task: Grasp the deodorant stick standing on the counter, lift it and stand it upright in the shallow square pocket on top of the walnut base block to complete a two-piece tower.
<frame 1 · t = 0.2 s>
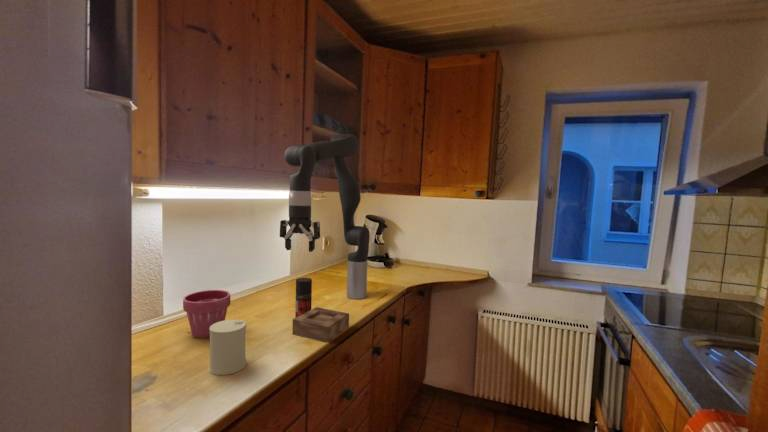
hand: (299, 250, 118), 28 cm above the countertop, fingers open, 8 cm apart
plinth: (321, 330, 119), on the countertop
deodorant: (303, 318, 131), on the countertop
plant pot: (207, 333, 115), on the countertop
can: (228, 366, 93), on the countertop
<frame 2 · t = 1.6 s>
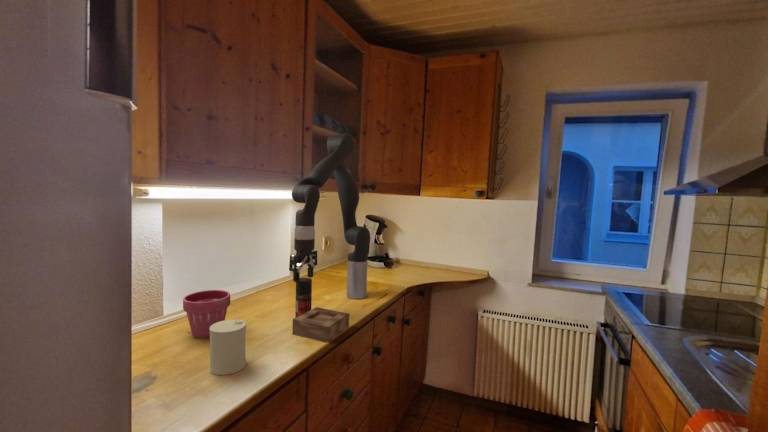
hand: (303, 279, 130), 15 cm above the countertop, fingers open, 8 cm apart
nothing on the countertop moved.
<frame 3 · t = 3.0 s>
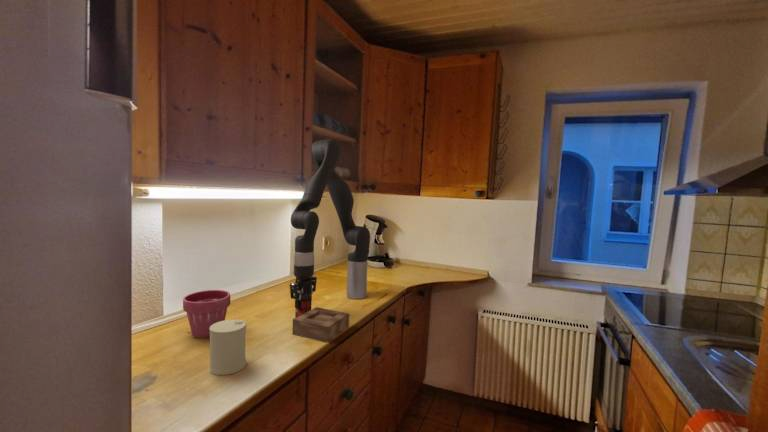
hand: (303, 306, 130), 5 cm above the countertop, fingers closed on deodorant, 6 cm apart
deodorant: (303, 318, 131), on the countertop, touching gripper
everything else where it was.
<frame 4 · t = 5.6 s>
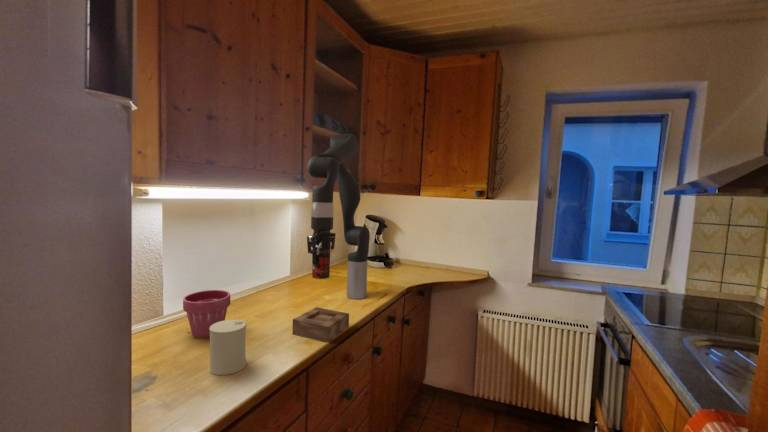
hand: (321, 263, 118), 24 cm above the countertop, fingers closed on deodorant, 6 cm apart
deodorant: (320, 277, 118), point 19 cm above the countertop, touching gripper
everything else where it was.
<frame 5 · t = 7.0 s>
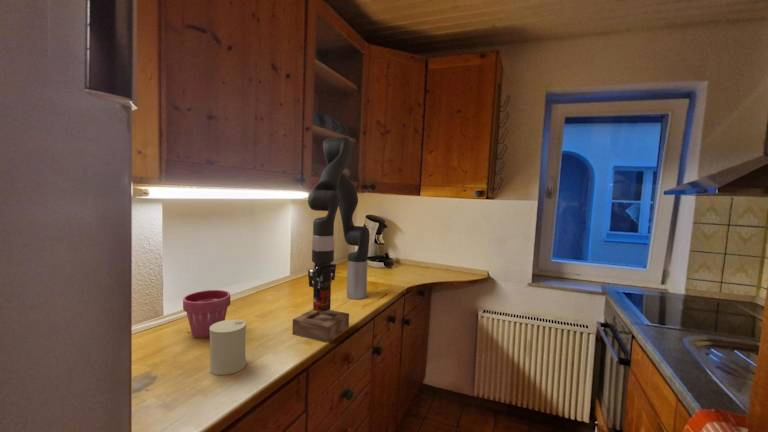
hand: (322, 295, 118), 13 cm above the countertop, fingers closed on deodorant, 6 cm apart
deodorant: (321, 309, 119), point 8 cm above the countertop, touching gripper
everything else where it was.
when the fingers open (9 cm above the countertop, at t = 8.2 s): deodorant stays where it is, resting on plinth.
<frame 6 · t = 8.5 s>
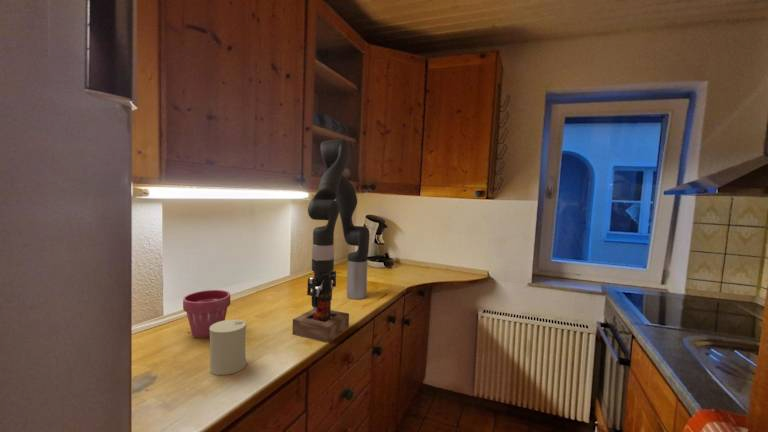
hand: (322, 303, 119), 10 cm above the countertop, fingers open, 8 cm apart
deodorant: (321, 319, 119), point 4 cm above the countertop, touching plinth
everything else where it was.
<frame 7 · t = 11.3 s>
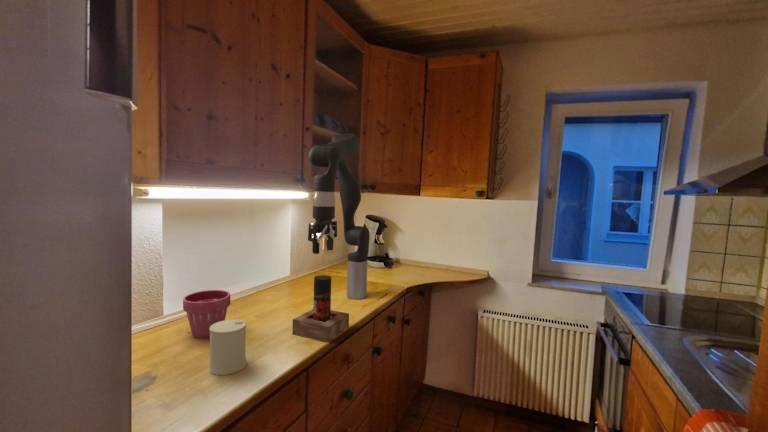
hand: (323, 251, 117), 28 cm above the countertop, fingers open, 8 cm apart
nothing on the countertop moved.
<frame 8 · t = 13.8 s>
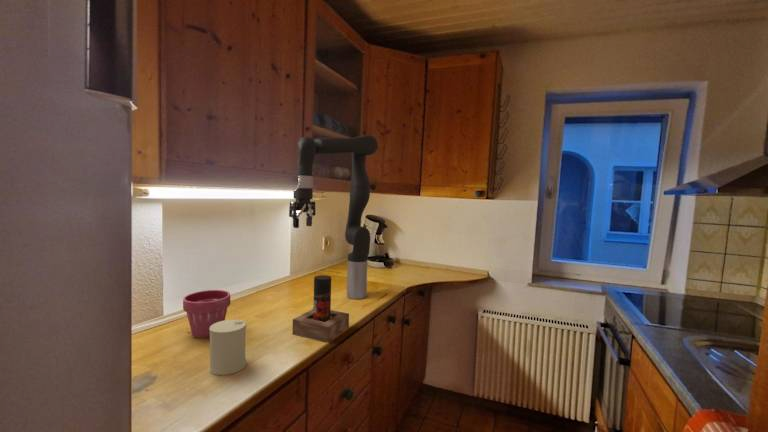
hand: (302, 227, 139), 34 cm above the countertop, fingers open, 8 cm apart
nothing on the countertop moved.
at the end: deodorant inside the target area on the plinth (0.2 cm from its centre), point 3.8 cm above the plinth's base; deodorant tilted 0°; the gripper is holding nothing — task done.
